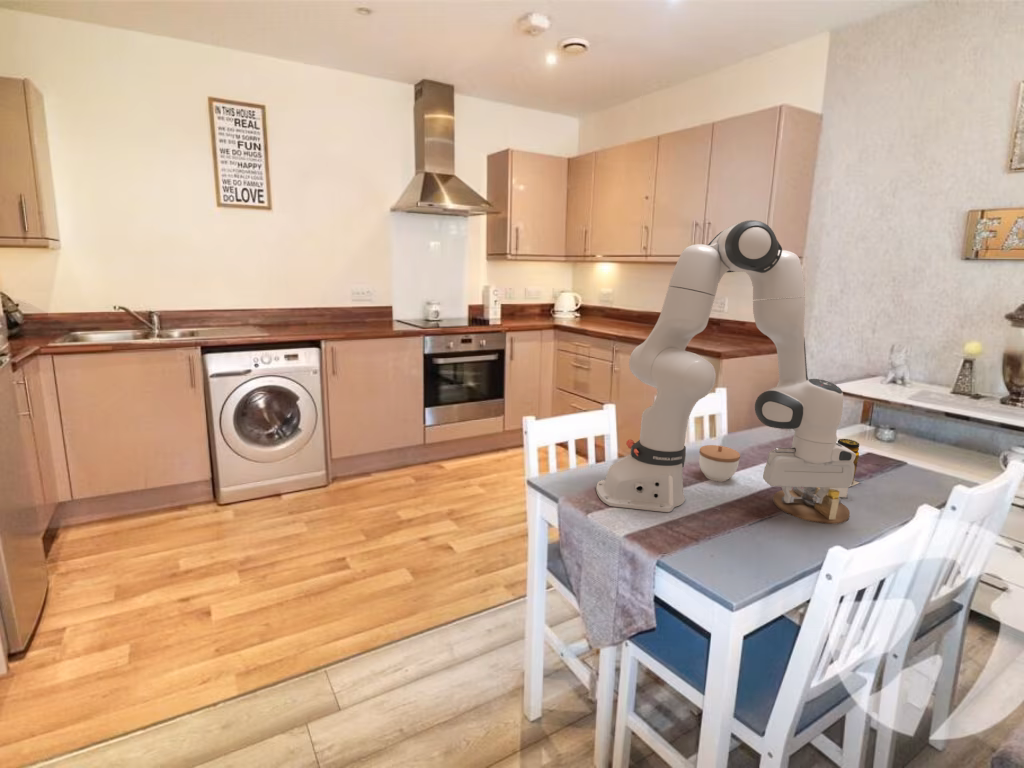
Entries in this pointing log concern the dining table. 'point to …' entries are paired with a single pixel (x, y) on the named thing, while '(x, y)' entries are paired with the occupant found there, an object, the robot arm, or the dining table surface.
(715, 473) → the lidded jar
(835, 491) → the capstan
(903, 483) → the dining table surface
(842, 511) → the foot plate
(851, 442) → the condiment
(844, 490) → the post
